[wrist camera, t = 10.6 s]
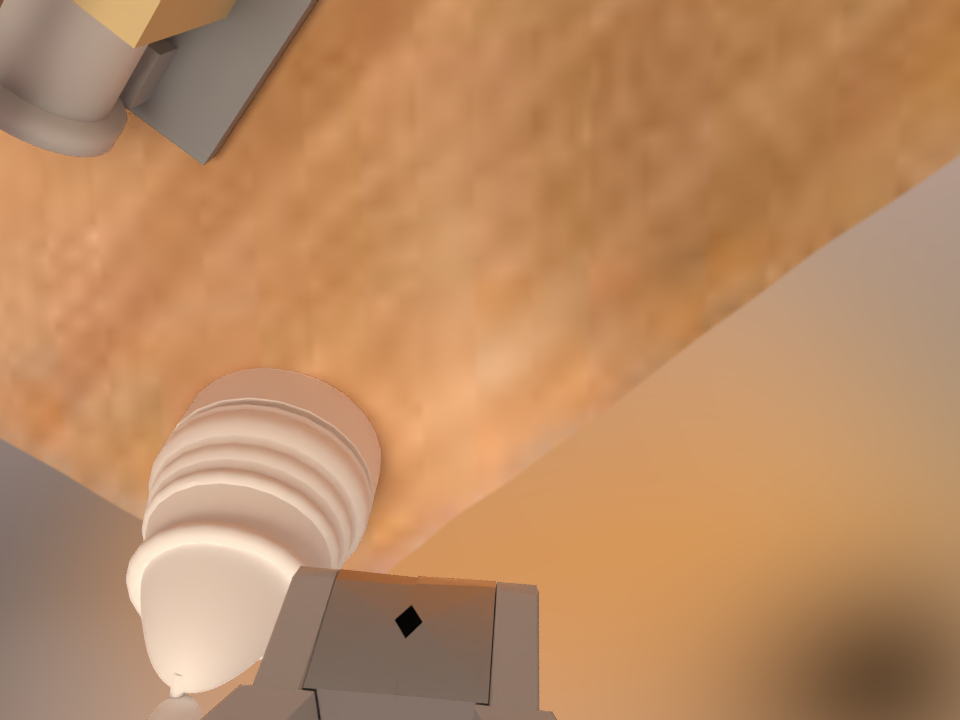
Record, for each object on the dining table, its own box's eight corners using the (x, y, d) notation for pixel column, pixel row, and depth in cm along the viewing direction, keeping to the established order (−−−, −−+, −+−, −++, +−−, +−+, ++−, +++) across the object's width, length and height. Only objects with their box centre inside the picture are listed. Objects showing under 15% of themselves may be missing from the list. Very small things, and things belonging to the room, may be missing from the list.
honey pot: (363, 539, 50) (299, 810, 35) (179, 500, 49) (28, 765, 33) (398, 394, 43) (338, 651, 28) (187, 345, 42) (3, 586, 27)
